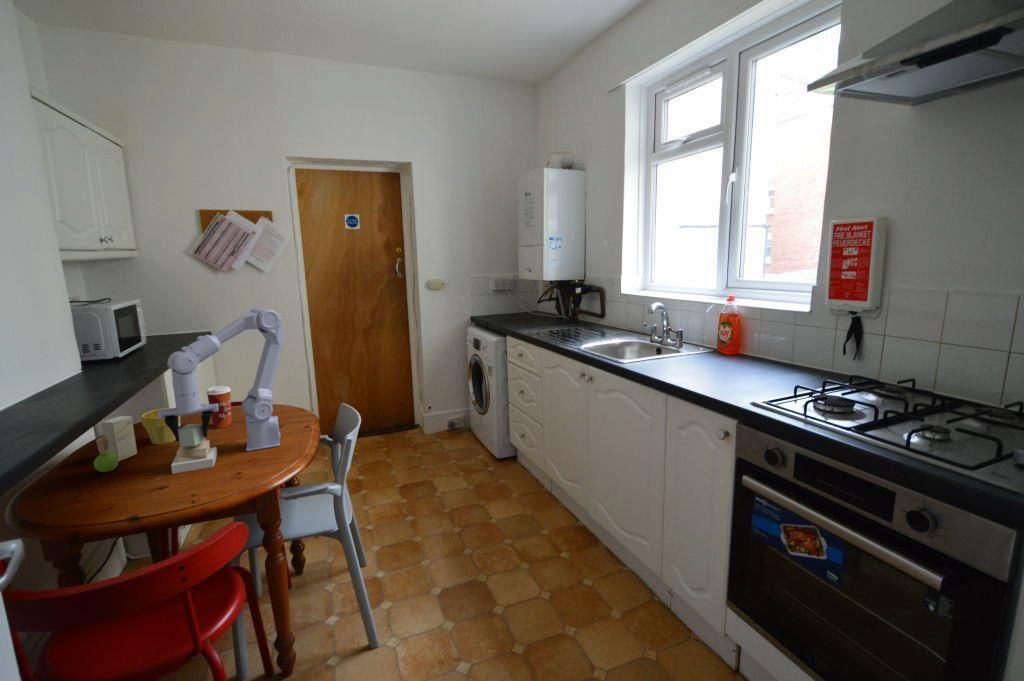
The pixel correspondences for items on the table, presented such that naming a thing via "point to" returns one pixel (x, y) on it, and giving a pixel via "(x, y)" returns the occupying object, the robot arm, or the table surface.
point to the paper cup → (220, 405)
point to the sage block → (191, 435)
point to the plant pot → (158, 427)
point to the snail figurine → (105, 456)
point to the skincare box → (120, 436)
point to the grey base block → (195, 463)
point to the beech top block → (193, 451)
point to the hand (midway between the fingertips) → (192, 438)
